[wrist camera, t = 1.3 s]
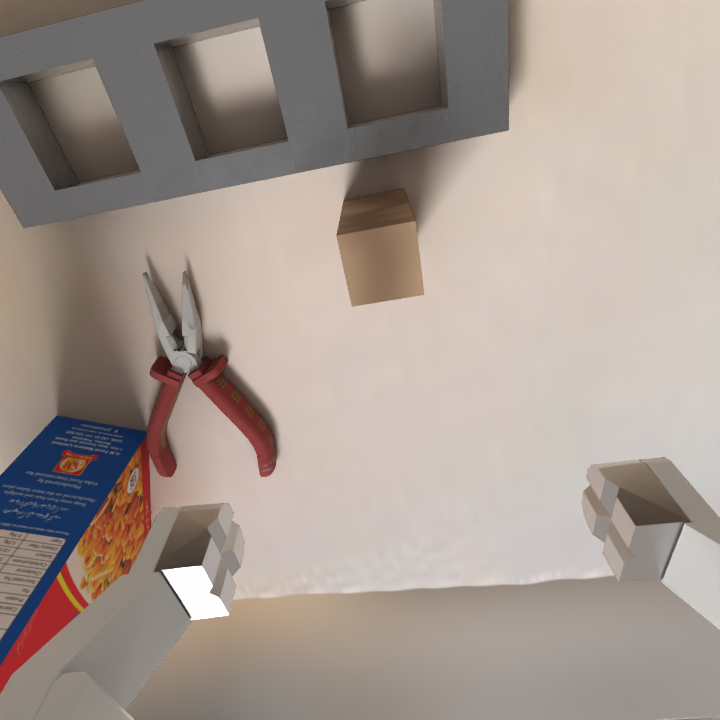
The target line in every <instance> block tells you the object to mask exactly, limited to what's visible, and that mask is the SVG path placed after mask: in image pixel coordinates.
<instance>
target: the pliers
mask: <svg viewBox="0 0 720 720" xmlns="http://www.w3.org/2000/svg"><path fill="white" fill-rule="evenodd" d="M143 277H144V281H145V285H146V289H147V294H148V298H149V302H150V307H151V311H152V315H153V319H154V324H155V328H156V332H157V335H158V337H159V340H160V342H161V344H162V347H163V349H164V351H165V353H166V355H167V356H168V358H169V359H167V358H164V357H162V356H160V357H159V358H158V359H157V360H156V361H155V363H154V364H153V365H152V368H151V371H150V375H151V377H153V378H154V379H156V380H159V381H161V382H163V384H162V387H161V390H160V393H159V396H158V399H157V401H156V404H155V407H154V410H153V413H152V415H151V418H150V421H149V424H148V428H147V435H146V443H147V449H148V452H149V454H150V456H151V458H152V460H153V463H154V465H155V467H156V469H157V472H158V473H159V474H160V475H161V476H163V477H171V476H172V475H173V474H174V472H175V470H176V467H177V465H176V462H175V459H174V457H173V454H172V451H171V449H170V446H169V444H168V441H167V435H166V429H167V424H168V420H169V418H170V415H171V412H172V410H173V407H174V405H175V402H176V400H177V397H178V394H179V392H180V389H181V387H182V384H183V381H184V379H185V376H186V374H187V373H189V375H188V377H189V378H190V379H191V380H192V382H193V383H194V384H195V385H196V386H197V387H199V388H200V389H201V390H202V391H203V392H204V393H205V394H206V395H207V396H208V397H209V398H210V400H211V401H212V402H213V403H214V404H215V405H216V406H217V407H218V408H219V409H220V410H221V411H222V412H223V413H224V414H225V415H226V416H227V417H228V418H229V419H230V420H231V421H232V422H233V423H234V424H235V425H236V426H237V427H238V428H239V430H240V431H241V432H242V433H243V434H244V435H245V436H246V437H247V438H248V439H249V441H250V442H251V444H252V445H253V447H254V449H255V451H256V454H257V459H258V465H259V472H260V476H261V477H267V476H269V475H271V474H272V472H273V471H274V469H275V466H276V456H275V447H274V438H273V435H272V433H271V430H270V429H269V427H268V425H267V424H266V423H265V421H264V420H263V418H262V417H261V416H260V415H259V414H258V412H257V411H256V410H255V409H254V408H253V407H252V406H251V405H250V404H249V403H248V402H247V400H246V399H245V398H244V397H243V396H242V395H241V394H240V393H239V392H238V391H237V389H236V388H235V387H234V386H233V385H232V384H231V383H230V382H229V381H228V380H227V378H226V377H225V376H224V375H223V374H222V373H221V372H222V371H223V370H224V368H225V366H226V364H227V362H228V360H227V359H226V358H225V356H224V355H222V356H220V357H218V358H216V359H214V360H213V361H211V360H210V359H209V358H208V356H207V357H205V358H203V359H202V357H203V341H202V326H201V321H200V318H199V314H198V311H197V308H196V304H195V301H194V297H193V294H192V290H191V287H190V284H189V280H188V277H187V273H186V271H185V272H183V290H182V336H184V340H179V339H178V338H176V337H175V335H174V333H173V332H174V331H175V329H176V328H177V327H178V325H177V323H176V322H175V320H174V318H173V316H172V314H171V312H170V310H169V308H168V307H167V305H166V304H165V302H164V300H163V299H162V297H161V295H160V294H159V292H158V290H157V289H156V287H155V285H154V284H153V282H152V281H151V279H150V277H149V276H148V274H147V272H145V273H143Z"/></svg>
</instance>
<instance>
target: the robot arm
mask: <svg viewBox="0 0 720 720" xmlns="http://www.w3.org/2000/svg"><path fill="white" fill-rule="evenodd" d="M586 478H587V480H588V481H589V483H590V486H589V487H588V488H586V489H585V490H584V491H583V498H582V506H583V513H584V516H585V519H586V522H587V524H588V526H589V528H590V530H591V532H592V534H593V535H594V536H596V537H597V538H599V539H600V540H601V541H603V542H604V543H605V545H604V549H603V555H604V557H605V558H606V560H607V562H608V564H609V566H610V568H611V569H612V571H613V573H614V575H615V577H616V579H617V580H618V582H634V581H635V582H636V581H654V580H662V583H663V584H664V585H666V586H667V587H668V588H669V589H671V590H672V591H673V592H674V593H675V594H677V595H678V596H679V597H680V598H682V599H683V600H684V601H685V602H687V603H688V604H689V605H690V606H691V607H693V608H694V609H695V610H696V611H698V612H699V613H700V614H701V615H703V616H704V617H705V618H706V619H707V620H709V621H710V622H711V623H712V624H714V625H715V626H716V627H717V628H718V629H720V517H719V516H718V515H717V514H716V513H715V512H714V511H713V509H712V508H711V507H710V506H709V505H708V504H707V502H706V501H705V500H704V499H703V498H702V497H701V496H700V494H699V493H698V492H697V491H696V490H695V489H694V487H693V486H692V485H691V484H690V483H689V482H688V481H687V479H686V478H685V477H684V476H683V475H682V474H681V472H680V471H679V470H678V469H677V468H676V467H675V466H674V464H673V463H672V462H671V461H670V460H668V459H667V458H665V457H661V458H651V459H642V460H630V461H621V462H613V463H604V464H595V465H591V466H590V467H589V468H588V471H587V475H586ZM233 514H234V512H233V510H232V508H231V506H230V504H229V503H220V504H206V505H193V506H183V507H171V508H163V509H162V510H161V511H160V512H159V513H158V514H157V516H156V518H155V520H154V522H153V525H152V527H151V529H150V531H149V533H148V535H147V537H146V539H145V541H144V543H143V545H142V548H141V550H140V552H139V554H138V556H137V558H136V560H135V562H134V564H133V566H132V568H131V571H130V573H129V574H127V575H122V576H121V577H120V578H118V579H117V580H116V581H115V582H114V583H113V584H112V585H111V586H110V587H109V588H107V589H106V590H105V591H104V592H103V593H102V594H101V595H100V596H99V597H97V598H96V599H95V600H94V601H93V602H92V603H91V604H90V605H89V606H87V607H86V608H85V609H84V610H83V611H82V612H81V613H80V614H79V615H77V616H76V617H75V618H74V619H73V620H72V621H71V622H70V623H69V624H68V625H66V626H65V627H64V628H63V629H62V630H61V631H60V632H59V633H58V634H56V635H55V636H54V637H53V638H52V639H51V640H50V641H49V642H48V643H46V644H45V645H44V646H43V647H42V648H41V649H40V650H39V651H38V652H37V653H35V654H34V655H33V656H32V657H31V658H30V659H29V660H28V661H27V662H25V663H24V664H23V665H22V666H21V667H20V668H19V669H18V670H17V671H15V672H14V673H13V674H12V675H11V677H10V679H9V681H8V682H7V684H6V686H5V687H4V689H3V691H2V692H1V694H0V720H134V719H133V718H132V717H131V716H130V715H129V714H128V713H127V712H126V711H125V710H126V708H127V707H128V706H129V704H130V703H131V702H132V700H133V699H134V698H135V696H136V695H137V694H138V693H139V691H140V690H141V689H142V687H143V686H144V685H145V683H146V682H147V681H148V679H149V678H150V677H151V675H152V674H153V673H154V671H155V670H156V669H157V667H158V666H159V665H160V663H161V662H162V661H163V659H164V658H165V657H166V655H167V654H168V653H169V651H170V650H171V649H172V647H173V646H174V645H175V643H176V642H177V641H178V640H179V638H180V637H181V636H182V634H183V633H184V632H185V630H186V629H187V628H188V626H189V625H190V624H191V622H192V621H191V620H192V619H201V618H209V617H217V616H227V615H229V612H230V608H231V604H232V601H233V597H234V593H235V589H236V584H235V582H234V580H233V578H232V576H233V575H234V574H235V573H236V572H237V570H238V569H239V568H240V567H241V564H242V559H243V555H244V539H243V533H242V530H241V528H240V526H239V525H238V524H237V523H235V522H233V521H232V517H233ZM655 720H720V715H719V716H703V717H688V718H671V719H655Z"/></svg>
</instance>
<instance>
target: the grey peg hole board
mask: <svg viewBox="0 0 720 720" xmlns="http://www.w3.org/2000/svg"><path fill="white" fill-rule="evenodd" d="M361 1H365V0H143V1H139V2H135V3H131V4H127V5H123V6H120V7H116V8H112V9H108V10H104V11H100V12H96V13H92V14H89V15H85V16H81V17H77V18H73V19H69V20H65V21H61V22H57V23H54V24H50V25H46V26H42V27H38V28H34V29H30V30H26V31H23V32H19V33H15V34H11V35H7V36H3V37H0V189H1V191H2V192H3V194H4V196H5V197H6V199H7V201H8V202H9V204H10V206H11V207H12V209H13V211H14V212H15V214H16V216H17V218H18V219H19V221H20V223H21V224H22V226H23V228H28V227H33V226H38V225H43V224H48V223H52V222H57V221H62V220H67V219H72V218H77V217H82V216H87V215H92V214H97V213H102V212H107V211H112V210H117V209H122V208H127V207H132V206H137V205H141V204H146V203H151V202H156V201H161V200H166V199H171V198H176V197H181V196H186V195H191V194H196V193H201V192H206V191H211V190H216V189H221V188H226V187H230V186H235V185H240V184H245V183H250V182H255V181H260V180H265V179H270V178H275V177H280V176H285V175H290V174H295V173H300V172H305V171H310V170H314V169H319V168H324V167H329V166H334V165H339V164H344V163H349V162H354V161H359V160H364V159H369V158H374V157H379V156H384V155H389V154H394V153H399V152H403V151H408V150H413V149H418V148H423V147H428V146H433V145H438V144H443V143H448V142H453V141H458V140H463V139H468V138H473V137H478V136H483V135H488V134H492V133H497V132H502V131H507V130H509V50H508V0H434V8H435V22H436V35H437V49H438V62H439V76H440V89H441V103H442V106H439V107H434V108H429V109H424V110H420V111H415V112H410V113H406V114H401V115H396V116H391V117H387V118H382V119H377V120H373V121H368V122H363V123H358V124H354V125H349V123H348V117H347V111H346V106H345V100H344V94H343V89H342V83H341V77H340V72H339V66H338V60H337V55H336V49H335V43H334V38H333V32H332V26H331V21H330V15H329V9H332V8H336V7H340V6H344V5H348V4H352V3H357V2H361ZM258 26H260V27H261V32H262V36H263V40H264V44H265V48H266V52H267V56H268V60H269V64H270V68H271V72H272V76H273V80H274V84H275V88H276V92H277V96H278V100H279V105H280V109H281V113H282V117H283V121H284V125H285V129H286V133H287V137H288V139H283V140H278V141H273V142H269V143H264V144H259V145H255V146H250V147H245V148H240V149H236V150H231V151H226V152H221V153H217V154H212V155H209V154H208V152H207V149H206V146H205V143H204V140H203V137H202V134H201V131H200V128H199V125H198V122H197V119H196V116H195V113H194V110H193V107H192V104H191V102H190V99H189V96H188V93H187V90H186V87H185V84H184V81H183V78H182V75H181V72H180V69H179V66H178V63H177V60H176V57H175V55H174V52H173V49H172V47H176V46H180V45H184V44H188V43H192V42H196V41H200V40H204V39H209V38H213V37H217V36H221V35H225V34H229V33H233V32H237V31H241V30H246V29H250V28H254V27H258ZM93 66H96V68H97V70H98V72H99V75H100V77H101V79H102V82H103V84H104V86H105V89H106V91H107V93H108V96H109V98H110V100H111V103H112V105H113V108H114V110H115V112H116V115H117V117H118V119H119V122H120V124H121V126H122V129H123V131H124V133H125V136H126V138H127V141H128V143H129V145H130V148H131V150H132V152H133V155H134V157H135V159H136V162H137V164H138V166H139V169H140V170H136V171H132V172H127V173H122V174H118V175H113V176H108V177H103V178H99V179H94V180H89V181H85V182H80V183H78V181H77V179H76V177H75V175H74V173H73V171H72V169H71V167H70V165H69V163H68V161H67V159H66V157H65V155H64V153H63V151H62V149H61V147H60V145H59V143H58V141H57V139H56V137H55V135H54V133H53V132H52V130H51V128H50V126H49V124H48V122H47V120H46V118H45V116H44V114H43V112H42V110H41V108H40V106H39V104H38V102H37V100H36V98H35V96H34V94H33V92H32V90H31V88H30V86H29V84H28V82H32V81H36V80H40V79H44V78H48V77H52V76H56V75H60V74H65V73H69V72H73V71H77V70H81V69H85V68H89V67H93Z"/></svg>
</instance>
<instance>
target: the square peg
mask: <svg viewBox="0 0 720 720" xmlns="http://www.w3.org/2000/svg"><path fill="white" fill-rule="evenodd" d="M337 240H338V244H339V249H340V254H341V258H342V263H343V268H344V272H345V277H346V281H347V286H348V291H349V295H350V300H351V305H352V306H358V305H365V304H371V303H377V302H383V301H389V300H395V299H401V298H407V297H413V296H419V295H424V289H423V280H422V272H421V263H420V254H419V246H418V237H417V229H416V221H415V218H414V215H413V212H412V210H411V207H410V204H409V201H408V198H407V196H406V193H405V190H404V189H399V190H394V191H389V192H383V193H378V194H373V195H368V196H363V197H357V198H352V199H347V200H344V201H343V206H342V211H341V216H340V221H339V226H338V231H337Z"/></svg>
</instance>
